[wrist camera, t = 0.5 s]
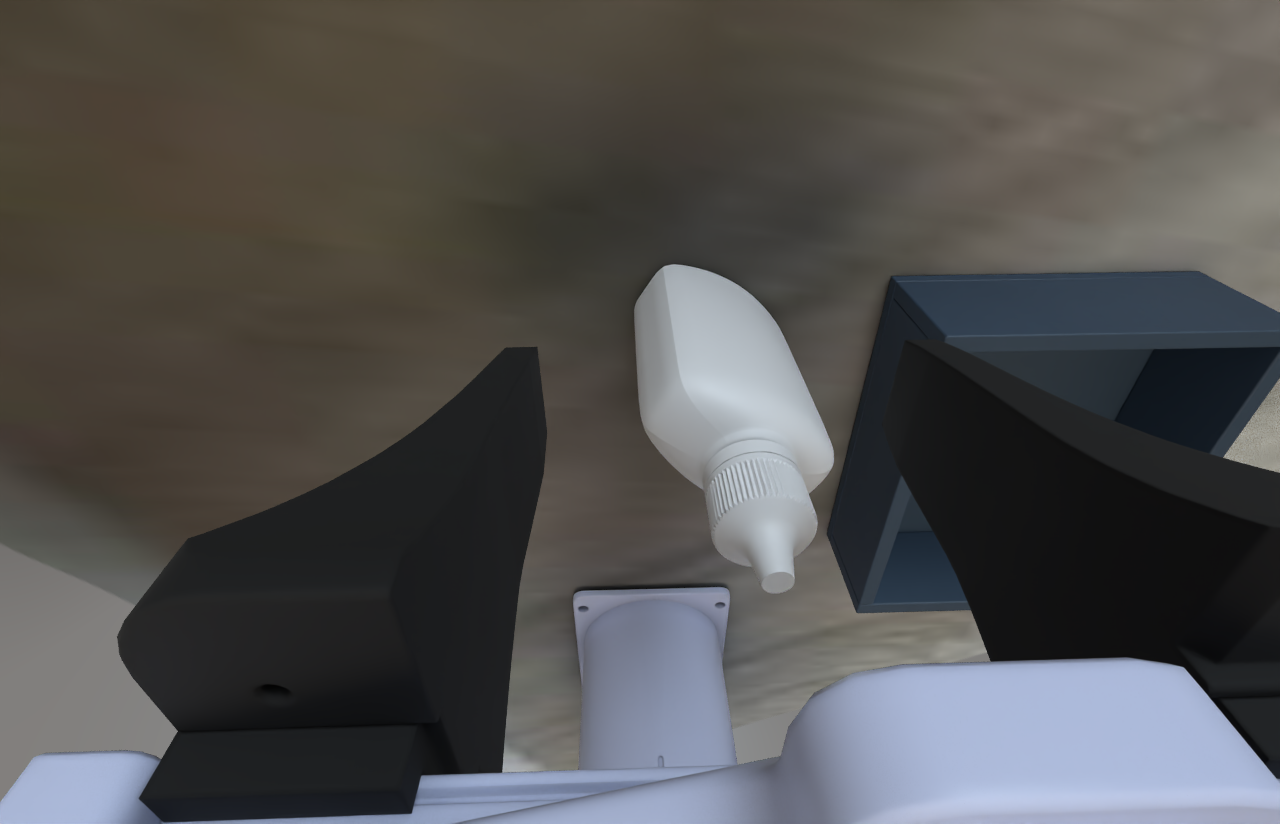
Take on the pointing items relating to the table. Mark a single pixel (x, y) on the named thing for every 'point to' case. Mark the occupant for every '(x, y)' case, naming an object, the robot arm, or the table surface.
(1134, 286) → the bin
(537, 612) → the table surface
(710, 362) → the eye dropper bottle
